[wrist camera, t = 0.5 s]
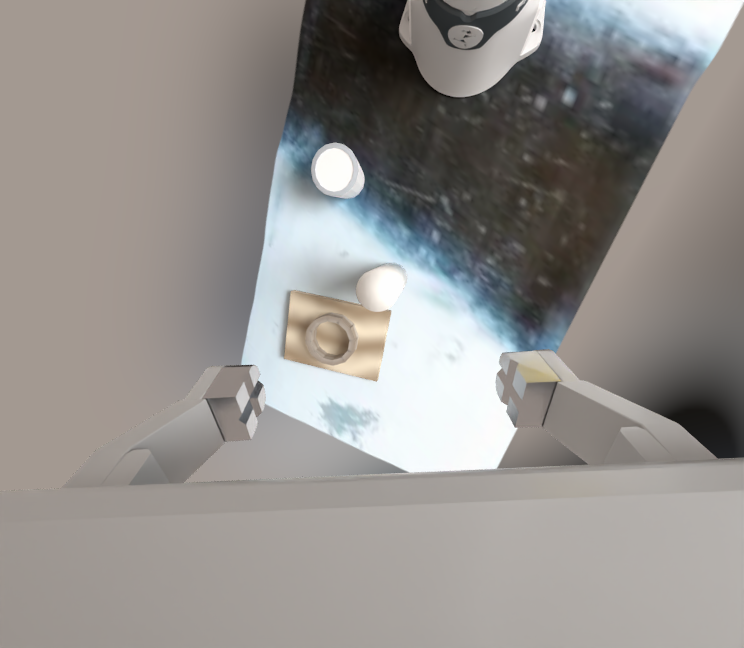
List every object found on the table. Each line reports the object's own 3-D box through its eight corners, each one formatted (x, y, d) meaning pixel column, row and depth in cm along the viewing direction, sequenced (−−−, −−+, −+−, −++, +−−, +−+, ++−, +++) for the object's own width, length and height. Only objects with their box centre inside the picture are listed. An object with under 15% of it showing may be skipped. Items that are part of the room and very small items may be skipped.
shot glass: (357, 210, 50) (346, 204, 43) (320, 191, 50) (303, 183, 44) (375, 167, 48) (366, 155, 41) (336, 148, 48) (321, 133, 42)
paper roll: (379, 259, 51) (359, 265, 37) (410, 265, 51) (401, 274, 36) (374, 290, 53) (353, 307, 39) (403, 296, 52) (393, 315, 38)
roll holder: (294, 290, 56) (284, 293, 52) (391, 310, 53) (388, 315, 49) (287, 355, 59) (277, 363, 55) (378, 378, 57) (374, 387, 53)
